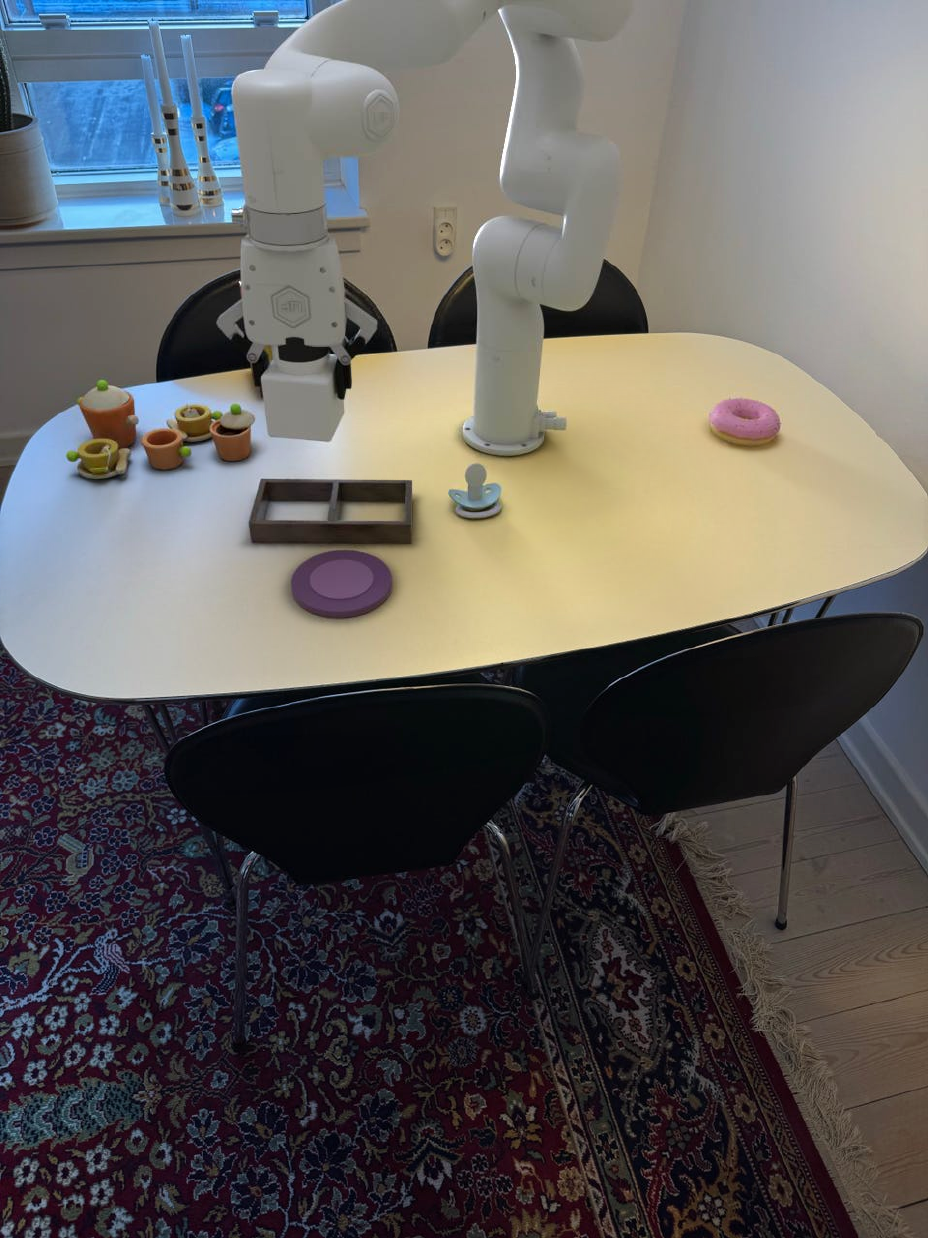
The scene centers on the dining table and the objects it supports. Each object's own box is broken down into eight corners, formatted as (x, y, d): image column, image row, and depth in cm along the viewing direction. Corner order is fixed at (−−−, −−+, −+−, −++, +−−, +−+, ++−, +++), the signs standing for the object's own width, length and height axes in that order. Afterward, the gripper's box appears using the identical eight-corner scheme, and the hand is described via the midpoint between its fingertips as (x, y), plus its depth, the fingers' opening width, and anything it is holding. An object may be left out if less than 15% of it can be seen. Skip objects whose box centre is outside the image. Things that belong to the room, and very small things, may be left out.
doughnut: (700, 441, 133) (706, 416, 130) (712, 410, 140) (718, 387, 138) (772, 456, 130) (779, 431, 127) (780, 424, 137) (787, 400, 135)
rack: (412, 498, 118) (412, 479, 116) (411, 543, 110) (411, 524, 108) (263, 497, 117) (260, 478, 115) (251, 542, 109) (248, 523, 107)
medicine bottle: (345, 412, 99) (339, 310, 91) (331, 443, 93) (323, 336, 85) (284, 407, 99) (273, 304, 91) (267, 437, 94) (253, 330, 86)
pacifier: (509, 517, 115) (494, 492, 120) (512, 477, 111) (497, 453, 115) (457, 525, 114) (444, 499, 118) (459, 485, 109) (445, 460, 114)
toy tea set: (70, 487, 117) (50, 424, 111) (76, 433, 128) (58, 373, 122) (263, 465, 123) (254, 404, 117) (252, 415, 134) (244, 357, 128)
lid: (393, 556, 108) (393, 549, 107) (390, 618, 99) (390, 611, 98) (297, 555, 107) (297, 548, 106) (286, 618, 98) (285, 610, 97)
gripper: (187, 232, 79) (217, 407, 90) (375, 238, 79) (382, 411, 91) (205, 209, 85) (231, 376, 96) (380, 214, 85) (386, 379, 97)
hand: (304, 392), depth 93 cm, fingers closed on medicine bottle, 7 cm apart
